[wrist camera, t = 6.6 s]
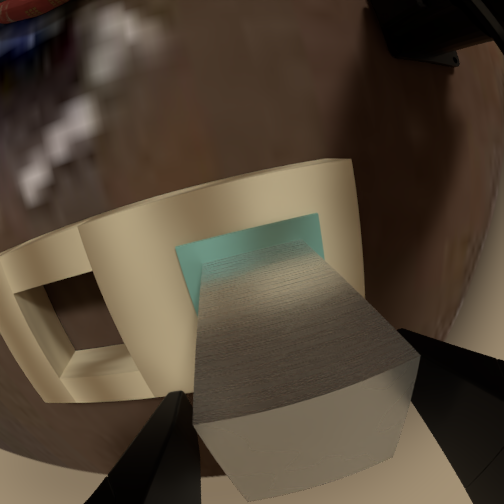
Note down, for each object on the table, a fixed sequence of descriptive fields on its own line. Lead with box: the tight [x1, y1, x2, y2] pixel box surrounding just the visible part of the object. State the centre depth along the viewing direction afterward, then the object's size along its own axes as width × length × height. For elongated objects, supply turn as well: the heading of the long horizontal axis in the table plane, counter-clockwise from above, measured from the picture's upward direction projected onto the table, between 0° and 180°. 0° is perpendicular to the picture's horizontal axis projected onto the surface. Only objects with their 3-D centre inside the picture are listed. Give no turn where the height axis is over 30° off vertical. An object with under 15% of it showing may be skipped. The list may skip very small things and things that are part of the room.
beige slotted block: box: [0, 158, 365, 403], centre depth 14 cm, size 21×10×3 cm, turn 102°
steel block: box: [193, 239, 421, 502], centre depth 9 cm, size 4×4×8 cm
